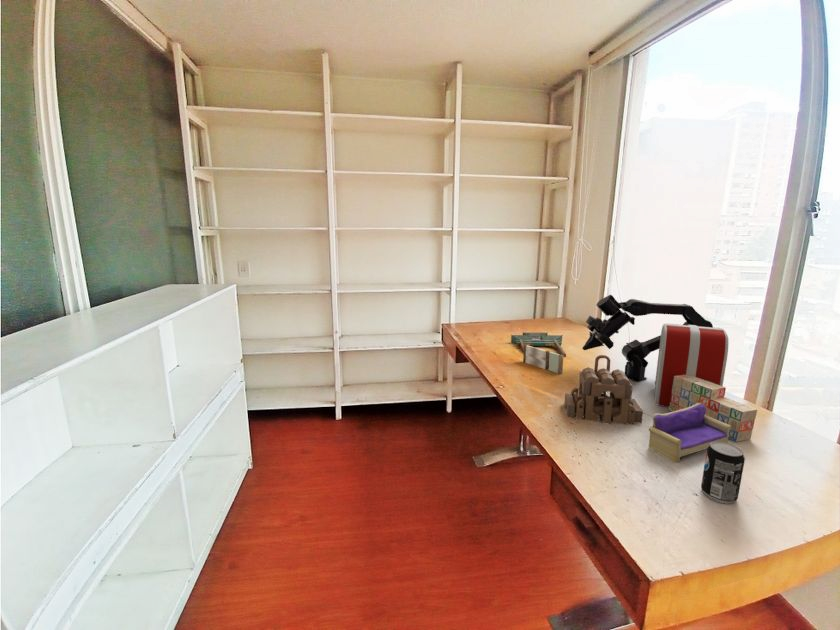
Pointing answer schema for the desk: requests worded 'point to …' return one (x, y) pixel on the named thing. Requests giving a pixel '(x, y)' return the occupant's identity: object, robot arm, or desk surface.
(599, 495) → the desk surface
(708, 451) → the beverage can
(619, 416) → the wooden puzzle
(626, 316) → the robot arm
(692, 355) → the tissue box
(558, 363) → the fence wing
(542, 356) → the fence section
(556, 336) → the miniature gate
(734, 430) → the stack of blocks
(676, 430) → the toy sofa
